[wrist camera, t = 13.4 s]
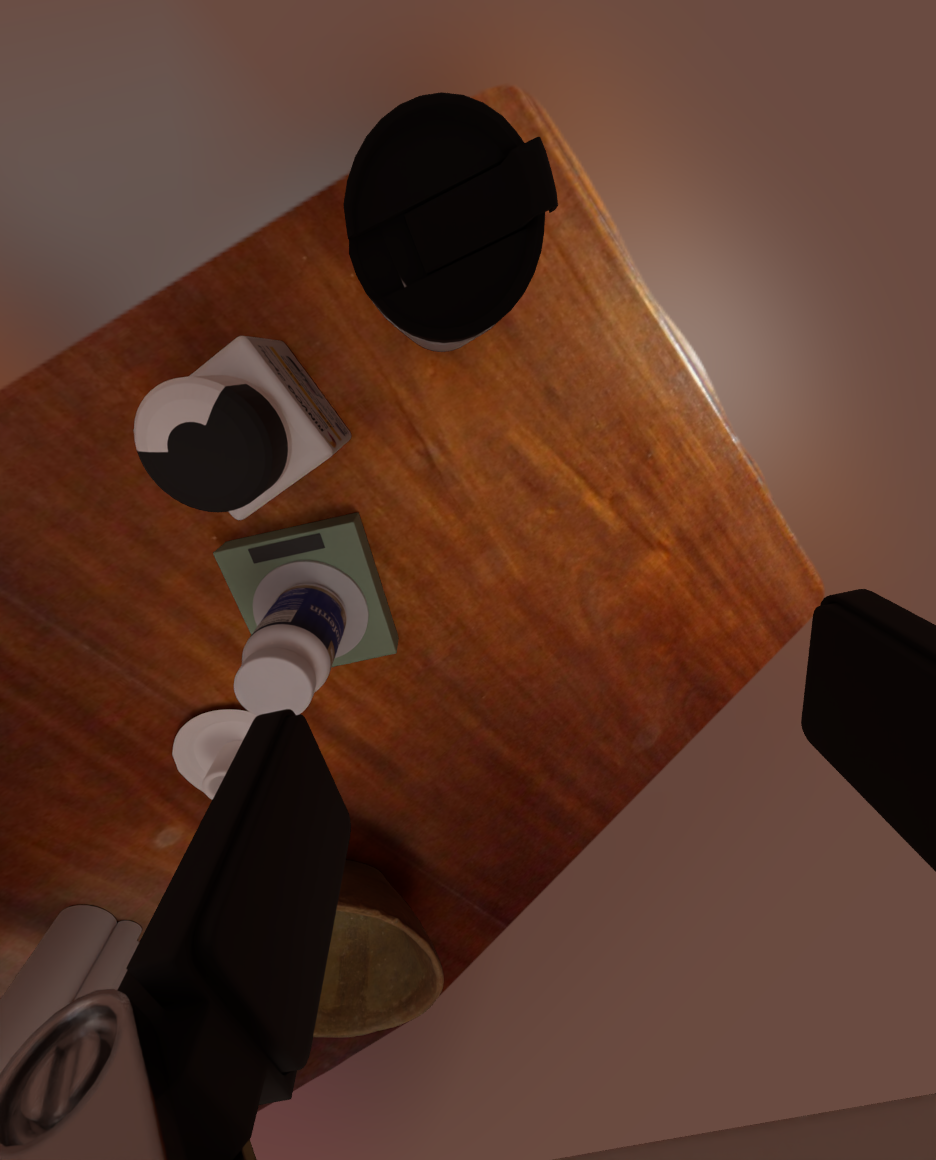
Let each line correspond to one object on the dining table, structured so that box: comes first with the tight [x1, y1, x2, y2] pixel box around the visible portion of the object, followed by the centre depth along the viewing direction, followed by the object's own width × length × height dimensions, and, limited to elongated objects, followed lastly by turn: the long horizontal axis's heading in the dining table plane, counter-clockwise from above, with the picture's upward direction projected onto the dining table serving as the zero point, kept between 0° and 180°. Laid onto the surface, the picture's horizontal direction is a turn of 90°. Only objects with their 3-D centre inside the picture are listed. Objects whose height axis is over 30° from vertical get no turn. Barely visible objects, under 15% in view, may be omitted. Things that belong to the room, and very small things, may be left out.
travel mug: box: [344, 93, 558, 352], centre depth 23 cm, size 6×7×20 cm
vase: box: [0, 905, 142, 1073], centre depth 48 cm, size 11×7×20 cm, turn 38°
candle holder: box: [172, 709, 256, 800], centre depth 45 cm, size 12×12×4 cm
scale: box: [213, 513, 399, 667], centre depth 39 cm, size 12×11×3 cm
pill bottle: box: [234, 584, 347, 716], centre depth 34 cm, size 6×6×10 cm
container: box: [134, 336, 351, 520], centre depth 29 cm, size 8×8×13 cm
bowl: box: [313, 860, 444, 1037], centre depth 52 cm, size 22×23×10 cm
